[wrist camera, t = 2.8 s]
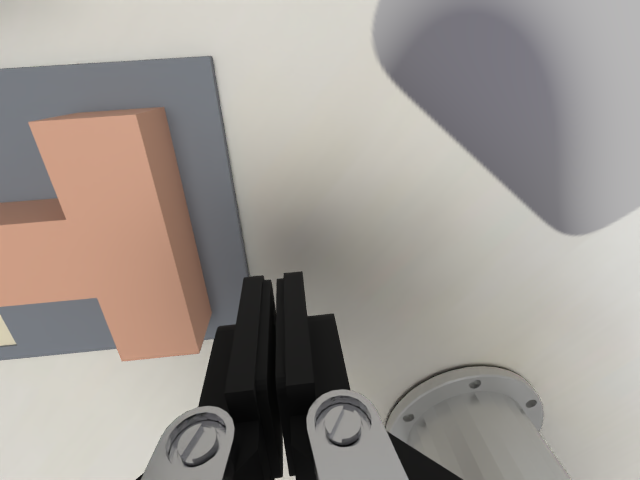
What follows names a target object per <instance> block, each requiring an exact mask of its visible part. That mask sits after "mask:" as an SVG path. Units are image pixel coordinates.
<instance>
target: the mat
mask: <svg viewBox="0 0 640 480" xmlns="http://www.w3.org/2000/svg"><path fill="white" fill-rule="evenodd" d="M155 107H164V108H165V112H166V117H167V121H168V125H169V130H170V134H171V138H172V143H173V147H174V151H175V156H176V160H177V164H178V169H179V173H180V177H181V182H182V186H183V190H184V195H185V199H186V203H187V208H188V212H189V216H190V221H191V225H192V229H193V233H194V238H195V242H196V246H197V251H198V255H199V259H200V264H201V268H202V272H203V277H204V281H205V285H206V290H207V294H208V298H209V303H210V307H211V311H212V314H211V318H210V321H209V324H208V327H207V330H206V334H205V337H204V340H208V339H214V338H215V334H216V330H217V328H218V327H219V326H224V325H233V324H236V320H237V314H238V308H239V302H240V296H241V290H242V284H243V279H244V277H249V274H248V268H247V262H246V256H245V250H244V244H243V239H242V233H241V227H240V221H239V215H238V209H237V203H236V197H235V191H234V185H233V179H232V173H231V167H230V161H229V155H228V149H227V143H226V137H225V131H224V125H223V119H222V113H221V107H220V101H219V95H218V89H217V83H216V77H215V71H214V65H213V59H212V57H211V56H203V57H187V58H170V59H154V60H138V61H121V62H105V63H88V64H72V65H55V66H39V67H22V68H6V69H0V203H4V202H17V201H30V200H42V199H55V198H58V197H57V195H56V192H55V190H54V187H53V185H52V182H51V180H50V177H49V175H48V172H47V169H46V167H45V164H44V162H43V159H42V157H41V154H40V152H39V149H38V147H37V144H36V141H35V139H34V136H33V134H32V131H31V129H30V126H29V124H28V122H31V121H36V120H41V119H47V118H52V117H57V116H62V115H68V114H73V113H81V112H96V111H110V110H125V109H140V108H155ZM108 349H117V348H116V345H115V343H114V340H113V337H112V335H111V332H110V330H109V327H108V325H107V322H106V320H105V317H104V315H103V312H102V309H101V307H100V304H99V302H98V299H97V298H89V299H79V300H68V301H57V302H47V303H36V304H25V305H15V306H4V307H0V360H9V359H19V358H29V357H39V356H49V355H59V354H69V353H79V352H89V351H99V350H108Z"/></svg>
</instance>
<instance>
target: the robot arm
mask: <svg viewBox="0 0 640 480" xmlns="http://www.w3.org/2000/svg"><path fill="white" fill-rule="evenodd" d="M543 417H544V411H543V404H542V402H541V399H540V397H539V395H538V394H537V393H536V391H535V390H534V389H533V388H532V386H531V385H530V384H529V383H528V382H527V381H526V380H525V379H524V378H523V377H521V376H520V375H518V374H516V373H514V372H512V371H509V370H505V369H502V368H498V367H487V366H477V367H465V368H460V369H456V370H451V371H448V372H445V373H443V374H440V375H437V376H435V377H433V378H431V379H429V380H427V381H425V382H423V383H421V384H420V385H418V386H417V387H416V388H414V389H413V390H411V391H410V392H409V393H408V394H407V395H406V396H405V397H404V398H403V399H402V400H401V401H400V402H399V403H398V404H397V405H396V407H395V408H394V410H393V411H392V412H391V414H390V417H389V419H388V421H387V424H386V429H385V427H384V425H383V423H382V420H381V418H380V416H379V414H378V412H377V410H376V408H375V407H374V405H373V404H372V402H371V401H370V400H368V399H367V398H366V397H365V396H364V395H362V394H360V393H357V392H355V391H351V390H350V386H349V382H348V377H347V372H346V368H345V363H344V358H343V354H342V349H341V344H340V340H339V335H338V331H337V326H336V321H335V317H334V314H325V315H316V316H307V310H306V301H305V292H304V282H303V273H302V272H292V273H284V278H282V279H277V294H276V310H275V302H274V295H273V288H272V282H271V280H264V276H263V275H262V276H252V277H244V279H243V284H242V290H241V296H240V302H239V308H238V314H237V320H236V324H233V325H224V326H219V327H218V328H217V330H216V334H215V338H214V342H213V346H212V351H211V355H210V359H209V363H208V368H207V372H206V376H205V380H204V385H203V389H202V393H201V397H200V402H199V406H198V407H197V408H195V409H192V410H189V411H187V412H185V413H184V414H182V415H181V416H179V417H177V418H176V419H175V420H174V421H173V422H172V423H171V424H170V425H169V426H168V427H167V428H166V430H165V431H164V433H163V435H162V436H161V438H160V440H159V442H158V444H157V446H156V448H155V450H154V452H153V455H152V457H151V459H150V461H149V463H148V465H147V467H146V469H145V472H144V473H143V474H142V475H141V476H140V477H138V478H137V479H136V480H274V478H281V477H283V438H284V444H285V451H286V457H287V463H288V469H289V475H290V476H296V480H572V479H571V477H570V476H569V475H568V473H567V472H566V470H565V469H564V467H563V466H562V465H561V463H560V462H559V460H558V459H557V458H556V456H555V455H554V453H553V452H552V450H551V449H550V448H549V446H548V445H547V443H546V442H545V440H544V439H543V438H542V436H541V435H540V433H539V431H540V429H541V426H542V423H543Z"/></svg>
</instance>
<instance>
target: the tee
mask: <svg viewBox="0 0 640 480" xmlns="http://www.w3.org/2000/svg"><path fill="white" fill-rule="evenodd" d="M28 124H29V126H30V129H31V131H32V134H33V136H34V139H35V141H36V144H37V147H38V149H39V152H40V154H41V157H42V159H43V162H44V164H45V167H46V169H47V172H48V175H49V177H50V180H51V182H52V185H53V187H54V190H55V192H56V195H57V197H58V198H55V199H42V200H30V201H17V202H4V203H0V307H4V306H15V305H25V304H36V303H47V302H57V301H68V300H79V299H89V298H97V299H98V302H99V304H100V307H101V309H102V312H103V315H104V317H105V320H106V322H107V325H108V327H109V330H110V332H111V335H112V337H113V340H114V343H115V345H116V348H117V350H118V353H119V355H120V358H121V360H122V361H131V360H140V359H150V358H160V357H169V356H179V355H189V354H199V353H200V350H201V346H202V343H203V340H204V337H205V334H206V330H207V327H208V324H209V321H210V318H211V314H212V311H211V307H210V303H209V298H208V294H207V290H206V285H205V281H204V277H203V272H202V268H201V264H200V259H199V255H198V251H197V246H196V242H195V238H194V233H193V229H192V225H191V221H190V216H189V212H188V208H187V203H186V199H185V195H184V190H183V186H182V182H181V177H180V173H179V169H178V164H177V160H176V156H175V151H174V147H173V143H172V138H171V134H170V130H169V125H168V121H167V117H166V112H165V108H164V107H155V108H140V109H125V110H110V111H96V112H81V113H73V114H68V115H62V116H57V117H52V118H47V119H41V120H36V121H31V122H28Z"/></svg>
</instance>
